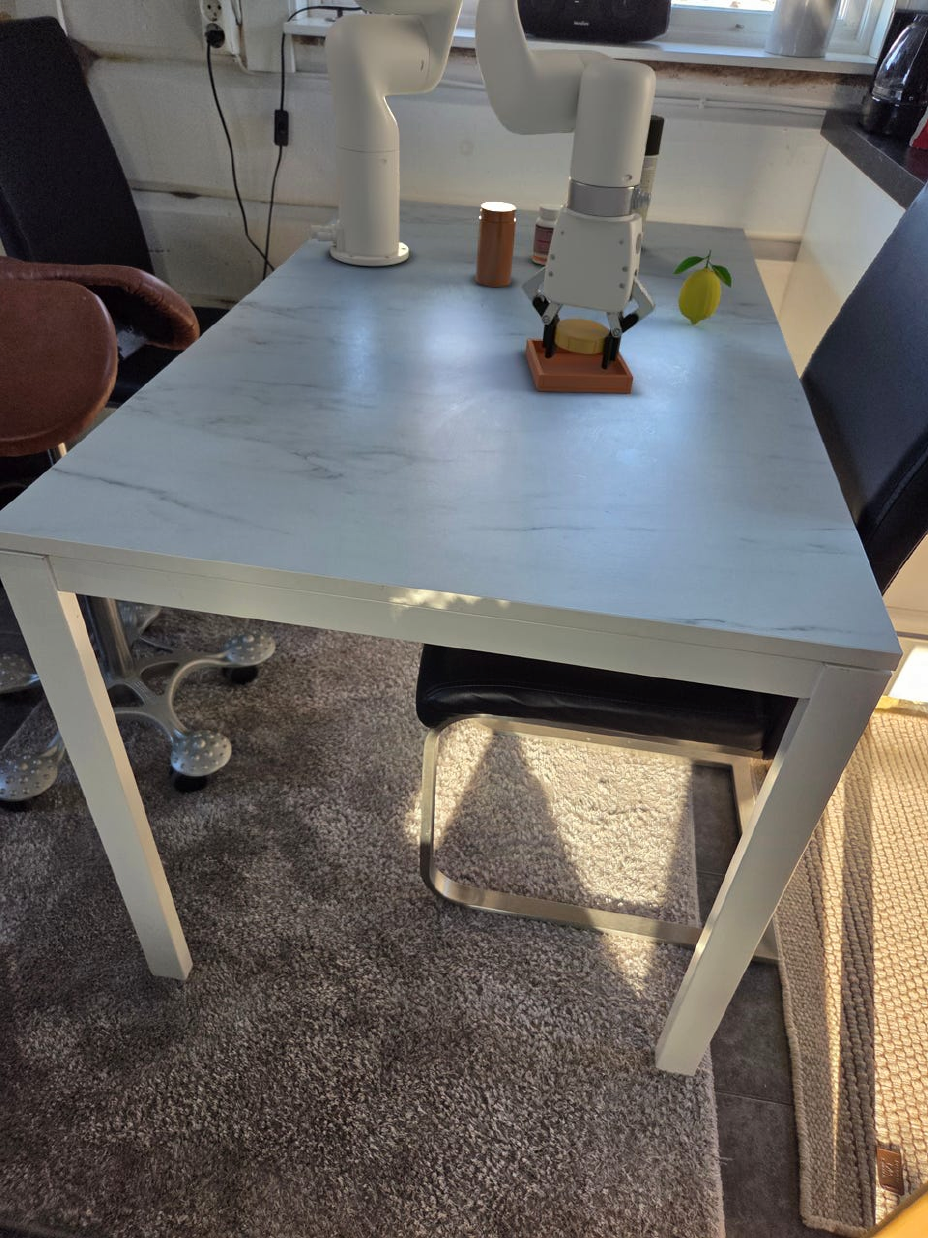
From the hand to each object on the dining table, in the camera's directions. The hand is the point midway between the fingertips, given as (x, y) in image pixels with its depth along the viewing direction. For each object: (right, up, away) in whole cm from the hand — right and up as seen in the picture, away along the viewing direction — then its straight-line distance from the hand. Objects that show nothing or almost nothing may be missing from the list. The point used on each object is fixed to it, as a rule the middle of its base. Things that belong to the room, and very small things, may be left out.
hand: (578, 358), depth 100 cm
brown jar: (-9, +20, +27) cm, 35 cm away
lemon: (+19, +10, +17) cm, 27 cm away
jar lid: (0, +3, -2) cm, 3 cm away
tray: (0, -1, +1) cm, 2 cm away
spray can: (+14, +34, +45) cm, 58 cm away
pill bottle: (0, +27, +36) cm, 45 cm away
